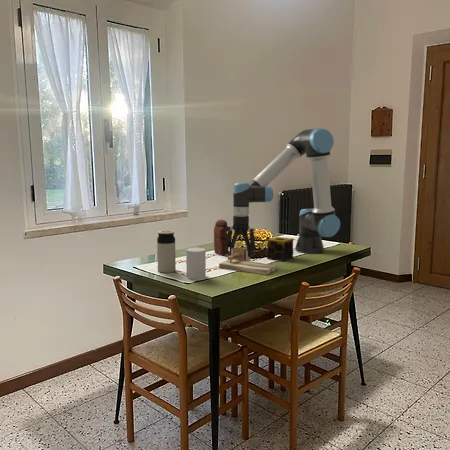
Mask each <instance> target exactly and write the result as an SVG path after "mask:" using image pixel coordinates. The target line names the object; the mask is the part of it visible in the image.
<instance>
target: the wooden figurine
mask: <svg viewBox="0 0 450 450" xmlns="http://www.w3.org/2000/svg"><path fill="white" fill-rule="evenodd" d="M227 227H229V226H228V222H227V220H225V219H218V220H217V221H216V222H215V224H214V227H213V247H214V253H215V254H217V255H219V256H221V257H224V256H229V255H230V248H229V247H227V246H226V243H227V235H228V229H227Z"/></svg>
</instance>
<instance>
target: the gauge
mask: <svg viewBox="0 0 450 450" xmlns="http://www.w3.org/2000/svg"><path fill="white" fill-rule="evenodd" d="M233 248H234V249H233V255H230V254H229V255H227V260H230V263H232V260H233V259H235V260H242V261H246V250H247V247H239V246H237V247H233Z"/></svg>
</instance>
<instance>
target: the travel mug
mask: <svg viewBox="0 0 450 450" xmlns="http://www.w3.org/2000/svg"><path fill="white" fill-rule="evenodd" d="M174 234H175V230H172V229H163V230H158V231H157V235H158V236H157V239H156V248H157V249H156V250H157V253H156V254H157V272H159V273H162V274H163V273H164V274H166V273H173V272H175V271H176V262H177V261H176V237H175V235H174Z"/></svg>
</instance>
